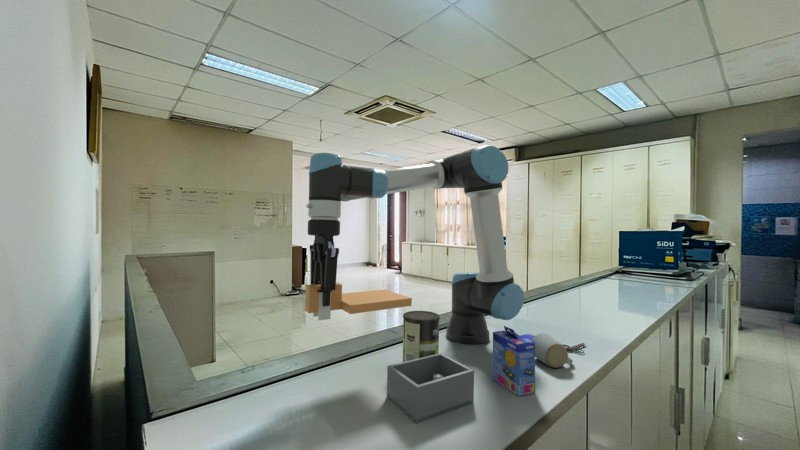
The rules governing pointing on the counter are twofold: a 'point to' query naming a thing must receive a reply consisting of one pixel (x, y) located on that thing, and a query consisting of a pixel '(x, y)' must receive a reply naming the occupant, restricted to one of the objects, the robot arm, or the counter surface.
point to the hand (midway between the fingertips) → (321, 317)
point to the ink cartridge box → (514, 361)
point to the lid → (355, 300)
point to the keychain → (575, 348)
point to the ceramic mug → (550, 351)
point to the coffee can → (420, 334)
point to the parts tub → (429, 386)
